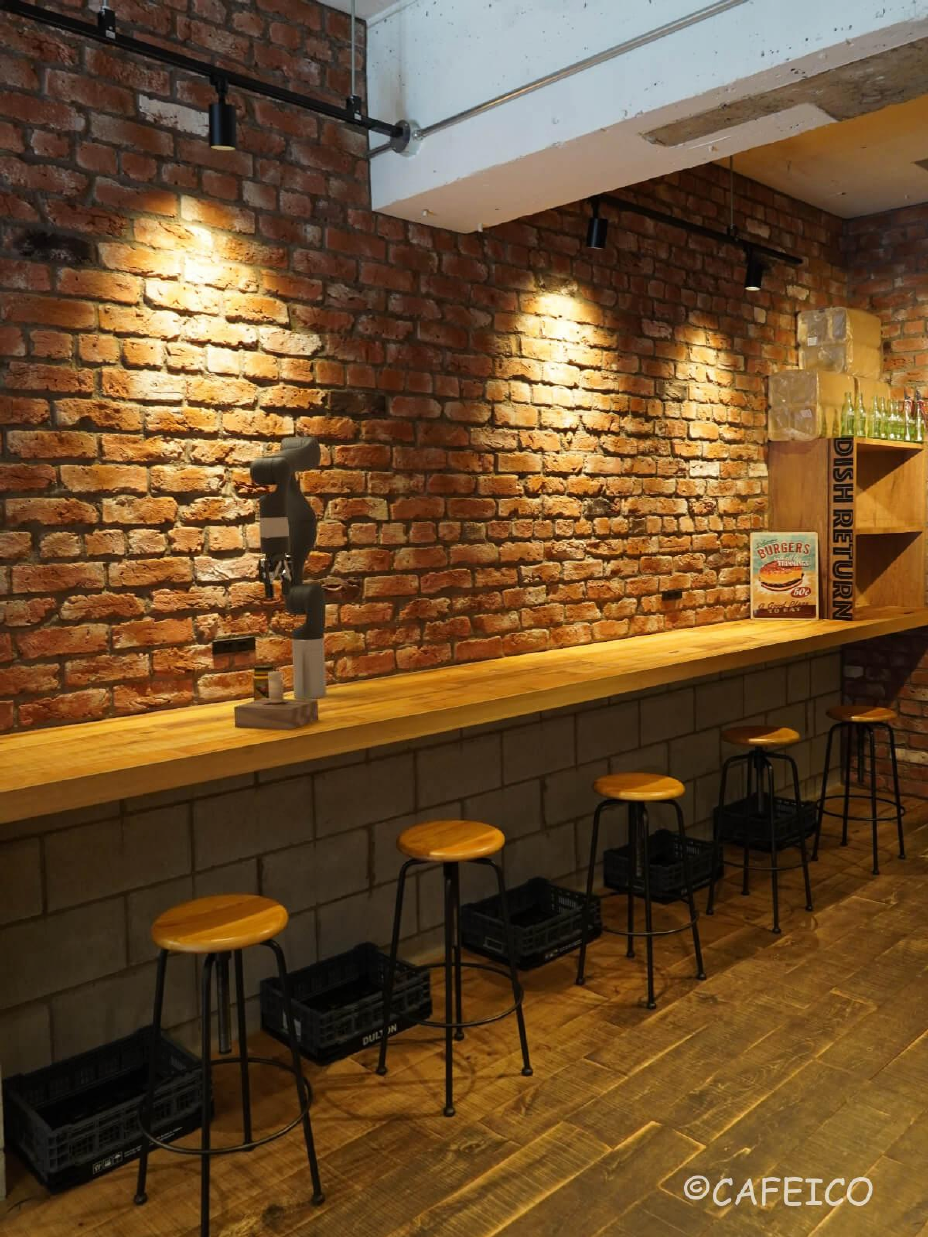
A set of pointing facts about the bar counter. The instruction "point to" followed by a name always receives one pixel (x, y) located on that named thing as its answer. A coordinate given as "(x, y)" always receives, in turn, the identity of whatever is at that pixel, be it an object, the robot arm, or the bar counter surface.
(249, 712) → the wooden block with hole
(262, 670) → the condiment
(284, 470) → the robot arm
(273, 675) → the peg
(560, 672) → the bar counter surface
